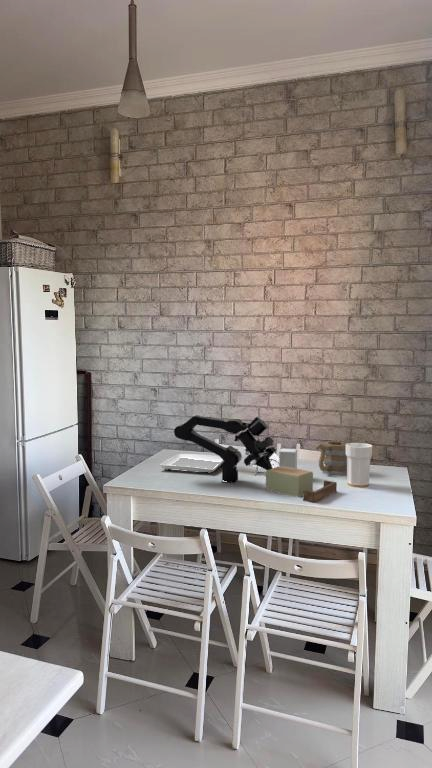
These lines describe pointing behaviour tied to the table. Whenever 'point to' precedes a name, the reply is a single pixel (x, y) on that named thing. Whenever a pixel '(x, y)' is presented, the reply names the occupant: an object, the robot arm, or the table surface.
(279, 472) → the tea box
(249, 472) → the table surface
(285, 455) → the supplement box
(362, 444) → the cup
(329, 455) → the tankard
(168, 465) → the square plate
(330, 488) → the bracket
